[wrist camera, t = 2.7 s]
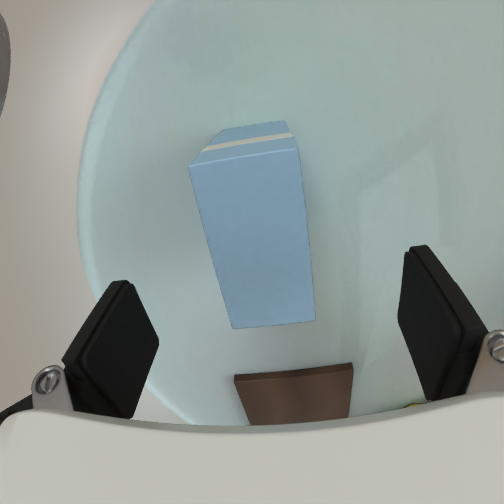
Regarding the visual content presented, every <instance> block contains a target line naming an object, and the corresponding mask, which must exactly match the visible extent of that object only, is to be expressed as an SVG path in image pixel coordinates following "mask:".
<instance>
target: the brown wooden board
mask: <svg viewBox="0 0 504 504" xmlns="http://www.w3.org/2000/svg"><path fill="white" fill-rule="evenodd" d="M352 380H353V365H352V363H347V364H340V365H333V366H326V367H318V368H310V369H302V370H292V371H282V372H271V373H258V374H243V375H235V376H234V384H235V387H236V389H237V392H238V394H239V397H240V399H241V402H242V404H243V407H244V409H245V412H246V414H247V417H248V419H249V422H250V424H251V426H258V425H280V424H295V423H307V422H318V421H327V420H336V419H343V418H348V414H349V406H350V398H351V389H352Z"/></svg>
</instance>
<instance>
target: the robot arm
mask: <svg viewBox="0 0 504 504" xmlns="http://www.w3.org/2000/svg"><path fill="white" fill-rule="evenodd" d="M398 323H399V326H400V329H401V331H402V334H403V336H404V339H405V341H406V344H407V347H408V349H409V352H410V355H411V357H412V360H413V363H414V365H415V368H416V371H417V374H418V377H419V380H420V382H421V385H422V388H423V391H424V394H425V397H426V399H427V400H428V401H429V400H431V401H432V402H429V403H425V404H421V405H416V406H412V407H407V408H402V409H397V410H392V411H386V412H381V413H375V414H369V415H363V416H357V417H350V418H343V419H336V420H327V421H318V422H307V423H295V424H280V425H258V426H208V425H185V424H169V423H158V422H147V421H138V420H130V418H132V417H133V415H134V412H135V410H136V407H137V404H138V401H139V398H140V395H141V392H142V390H143V387H144V384H145V382H146V379H147V376H148V373H149V371H150V368H151V365H152V363H153V360H154V357H155V355H156V352H157V349H158V346H159V339H158V336H157V334H156V332H155V330H154V328H153V326H152V324H151V322H150V319H149V317H148V315H147V313H146V311H145V309H144V307H143V304H142V302H141V300H140V298H139V296H138V293H137V291H136V289H135V287H134V285H133V284H130V282H129V281H127V280H121V281H113V282H111V284H110V285H109V286H108V288H107V289H106V291H105V292H104V294H103V295H102V297H101V298H100V300H99V301H98V303H97V304H96V306H95V307H94V309H93V310H92V312H91V313H90V315H89V316H88V318H87V319H86V321H85V323H84V324H83V326H82V327H81V329H80V331H79V332H78V334H77V335H76V337H75V338H74V340H73V342H72V343H71V345H70V346H69V348H68V350H67V351H66V353H65V355H64V356H63V358H62V362H63V363H64V365H65V368H64V370H63V369H62V368H61V367H60V366H57V365H52V366H48V367H46V368H44V369H43V370H41V371H40V372H39V373H38V374H37V375H36V376H35V378H34V380H33V382H32V388H31V390H32V394H31V395H29V396H27V397H26V398H24V399H22V400H21V401H19V402H17V403H15V404H14V405H12V406H10V407H9V408H7V409H5V410H4V411H2V412H1V413H0V504H504V330H494V331H491V332H488V330H487V328H486V327H485V325H484V324H483V322H482V320H481V319H480V317H479V316H478V314H477V313H476V311H475V310H474V308H473V307H472V305H471V304H470V302H469V301H468V299H467V298H466V296H465V295H464V293H463V292H462V290H461V289H460V287H459V286H458V285H457V283H456V282H455V281H454V280H453V279H452V277H451V276H450V275H449V273H448V272H447V270H446V269H445V268H444V266H443V265H442V264H441V262H440V261H439V260H438V258H437V257H436V256H435V254H434V253H433V252H432V251H431V249H430V248H429V247H428V246H427V245H421V246H413V247H410V249H409V252H405V255H404V265H403V275H402V284H401V293H400V301H399V308H398Z"/></svg>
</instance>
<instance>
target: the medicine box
mask: <svg viewBox="0 0 504 504" xmlns="http://www.w3.org/2000/svg"><path fill="white" fill-rule="evenodd" d="M188 170H189V174H190V178H191V181H192V185H193V189H194V193H195V197H196V201H197V205H198V209H199V212H200V216H201V220H202V224H203V227H204V231H205V235H206V239H207V242H208V246H209V249H210V253H211V257H212V260H213V264H214V267H215V271H216V274H217V278H218V281H219V285H220V288H221V292H222V295H223V299H224V302H225V305H226V309H227V312H228V316H229V319H230V322H231V326H232V328H233V329H241V328H252V327H263V326H273V325H282V324H291V323H300V322H308V321H315V319H316V316H315V302H314V289H313V277H312V265H311V254H310V244H309V234H308V224H307V215H306V206H305V198H304V190H303V182H302V174H301V166H300V159H299V152H298V148H297V146H296V143H295V141H294V138H293V136H292V134H291V133H290V131H289V129H288V126H287V124H286V122H285V121H277V122H270V123H263V124H257V125H251V126H245V127H239V128H233V129H228V130H223V131H221V132H220V133H219V134H218V135H217V137H216V138H215V139H214V140H213V141H212V142H211V143H210V144H209V145H208V146H206V147H205V148H204V149H203V150H202V151H201V153H200V154H199V155H198V156H197V157H196V158H195V159H194V160H193V161H192V163H191V164H190V165H189V166H188Z"/></svg>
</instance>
